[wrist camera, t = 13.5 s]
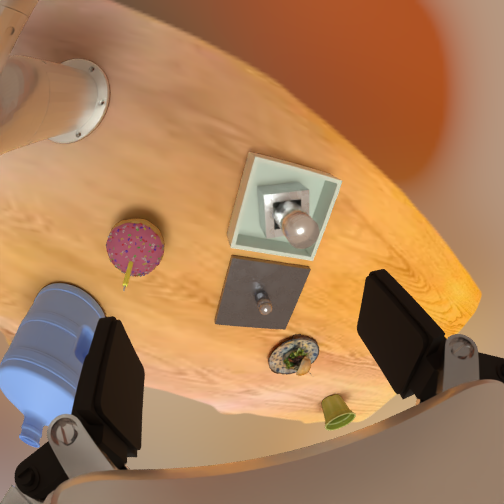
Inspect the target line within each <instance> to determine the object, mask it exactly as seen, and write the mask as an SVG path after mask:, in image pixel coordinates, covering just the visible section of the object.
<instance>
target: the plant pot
mask: <svg viewBox="0 0 504 504" xmlns="http://www.w3.org/2000/svg"><path fill="white" fill-rule="evenodd" d="M322 408H323V412H324V417H325V429H326V430H335V429H339V428H341V427H343V426H346V425H347V424H349V423H350V422H352V421H353V420H354V418H355V416H356V415H355V413H353V412H352V411H351V410H350V409H349V408H348V406H347V405H346V403H345V402H344V401H343V399H342V398H341V396H340V395H338V394H335V395H333V396H328V397H327V398H325V399H324V400H323V401H322Z"/></svg>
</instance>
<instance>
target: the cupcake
mask: <svg viewBox="0 0 504 504" xmlns="http://www.w3.org/2000/svg"><path fill="white" fill-rule="evenodd" d="M106 248H107V252H108V255H109V258H110V262H112V263H113V264H114V265H115V267H116V268H118V269H119V270H121V272H122V273H126V274H125V278H124V281H123V286H124V289H123V291H125V287H127V286H128V282H129V278H130V276H131V275H132V276H139V275H141V276H142V275H143V276H144V275H145V274H149V273H150V272H151V271H152V270H153V269H155V267H156V266H158V265H159V263H160V261H161V260H162V257H163V253H164V240H163V238H162V235H161V233H160V231H159V229H158V228H157V227H156V226H154V225H153V224H152V223H151V222H149V221H148V220H145V219H129V220H122V221H120V222H118V223H117V224H116V225H115V226H114V227H113V228H112V230H111V232H110V235H109V236H108V240H107V243H106ZM141 276H140V277H141Z"/></svg>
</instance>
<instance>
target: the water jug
mask: <svg viewBox="0 0 504 504" xmlns="http://www.w3.org/2000/svg"><path fill="white" fill-rule="evenodd" d="M100 318H105V315H104V313H103V311H102V309H101V307H100V306H99V304H98V303H97V302H96V301H95V300H94V299H93V298H92V297H91V296H90V295H89V294H88V293H86V292H85V291H83V290H81V289H80V288H78V287H75V286H73V285H69V284H65V283H54V284H50V285H48V286H46V287H44V288H43V289H42V290H41V291H40V292H39V293H38V295H37V297H36V298H35V300H34V303H33V305H32V306H31V308H30V310H29V312H28V313H27V315H26V316H25V318H24V319H23V320H22V322H21V324H20V326H19V328H18V331H17V333H16V335H15V337H14V339H13V341H12V343H11V345H10V347H9V349H8V351H7V352H6V354H5V355H4V357H3V360H2V362H1V364H0V388H1V390H2V391H3V393H4V395H5V396H6V397H7V398H8V399H9V400H10V401H11V402H12V403H13V404H14V405H15V406H16V407H17V408H18V409H19V410H20V411H21V412H22V413H23V414H24V417H25V418H24V422H23V424H22V432H21V434H20V435H19V438H20V439H21V440H22V441H23V442H25V443H26V444H28V445H30V446H33V447H40V444H39V441H40V438H41V437H42V429H43V427H44V426H45V425H46V426H49V425H50V423H51V421H52V420H53V419H54V418H56V417H57V416H59V415H62V414H71V412H72V407H73V403H74V398H75V394H76V390H77V386H78V382H79V378H80V374H81V370H82V366H83V363H84V359H85V357H86V355H87V354H88V353H89V349H90V346H91V343H92V339H93V336H94V333H95V329H96V326H97V323H98V320H99V319H100Z"/></svg>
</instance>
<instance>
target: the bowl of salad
mask: <svg viewBox="0 0 504 504" xmlns="http://www.w3.org/2000/svg"><path fill="white" fill-rule="evenodd" d="M318 354H319V347H318V345H317V342H315V340H313V338H309V337H308V336H303V335H301V334H297V335H293V339H291V340H289V341H286V342H284V343H282V345H280V346H279V347H278V348H276V349H275V350H274V352H273V353H272V354H271V356H270V358H269V360H268V362H269V367H270V369H271V371H273V372H274V373H277V374H279V373H280V374H292V373H296V372H297V374H296V375H299V376H301V375H304V374H306V373H308V372H309V370H310V368H311V364H312V363H313V362H314V361H315V360H316V358H317V356H318Z"/></svg>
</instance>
